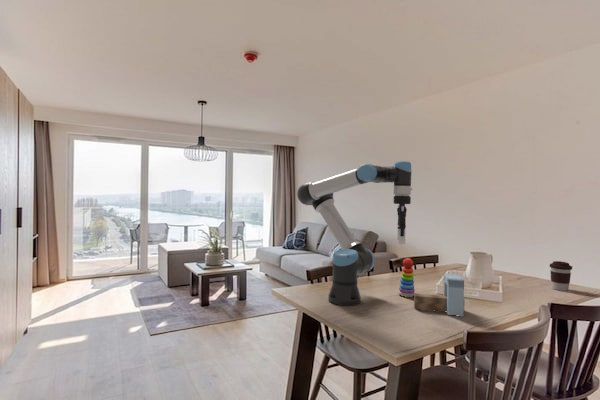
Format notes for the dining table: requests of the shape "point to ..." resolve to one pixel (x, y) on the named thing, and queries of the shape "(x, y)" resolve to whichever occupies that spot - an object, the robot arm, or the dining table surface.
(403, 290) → the stacking toy
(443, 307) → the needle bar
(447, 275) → the light blue arch block
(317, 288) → the dining table surface
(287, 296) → the dining table surface
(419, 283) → the dining table surface
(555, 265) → the coffee cup
